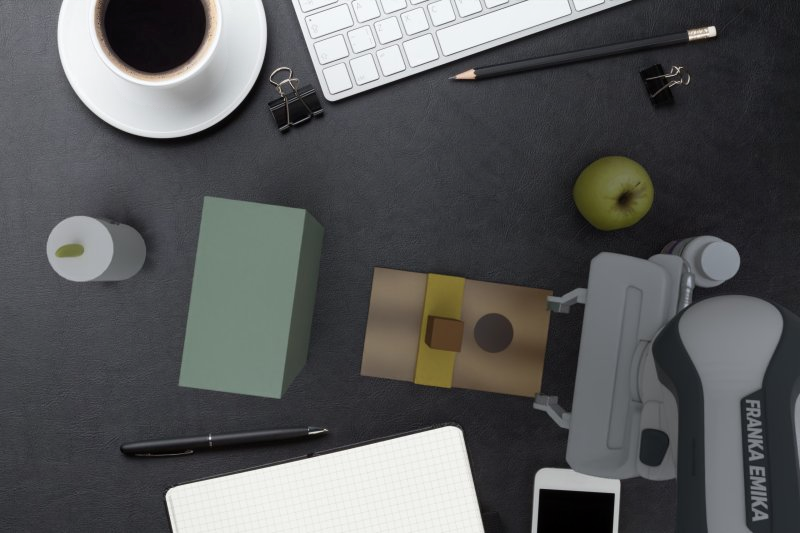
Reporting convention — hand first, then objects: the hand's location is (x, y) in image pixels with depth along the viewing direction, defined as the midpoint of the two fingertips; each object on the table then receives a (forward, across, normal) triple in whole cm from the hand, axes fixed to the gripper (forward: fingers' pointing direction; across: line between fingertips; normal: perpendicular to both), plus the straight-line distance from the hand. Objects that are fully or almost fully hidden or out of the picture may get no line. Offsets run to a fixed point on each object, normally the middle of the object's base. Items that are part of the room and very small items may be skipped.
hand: (543, 351), depth 74 cm
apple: (+3, -17, +12) cm, 21 cm away
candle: (+40, -4, -24) cm, 47 cm away
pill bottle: (-4, -11, +19) cm, 23 cm away
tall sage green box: (+27, -2, -12) cm, 29 cm away
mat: (+13, 0, +2) cm, 13 cm away
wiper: (+14, 0, 0) cm, 14 cm away
